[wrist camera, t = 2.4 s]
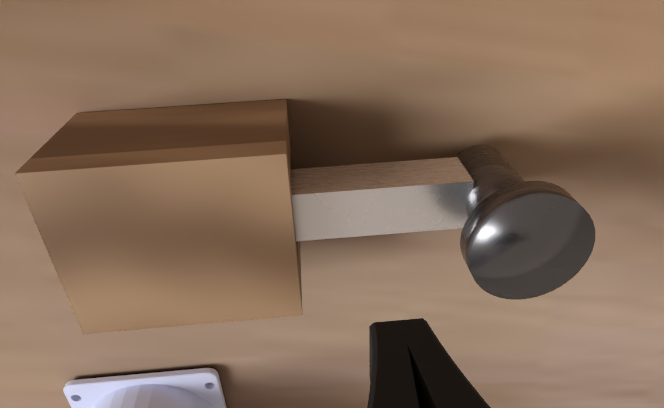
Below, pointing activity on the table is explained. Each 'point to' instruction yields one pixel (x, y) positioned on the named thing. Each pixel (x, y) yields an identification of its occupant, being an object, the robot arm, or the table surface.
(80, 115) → the wooden mallet head
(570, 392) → the table surface
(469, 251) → the handle rod
